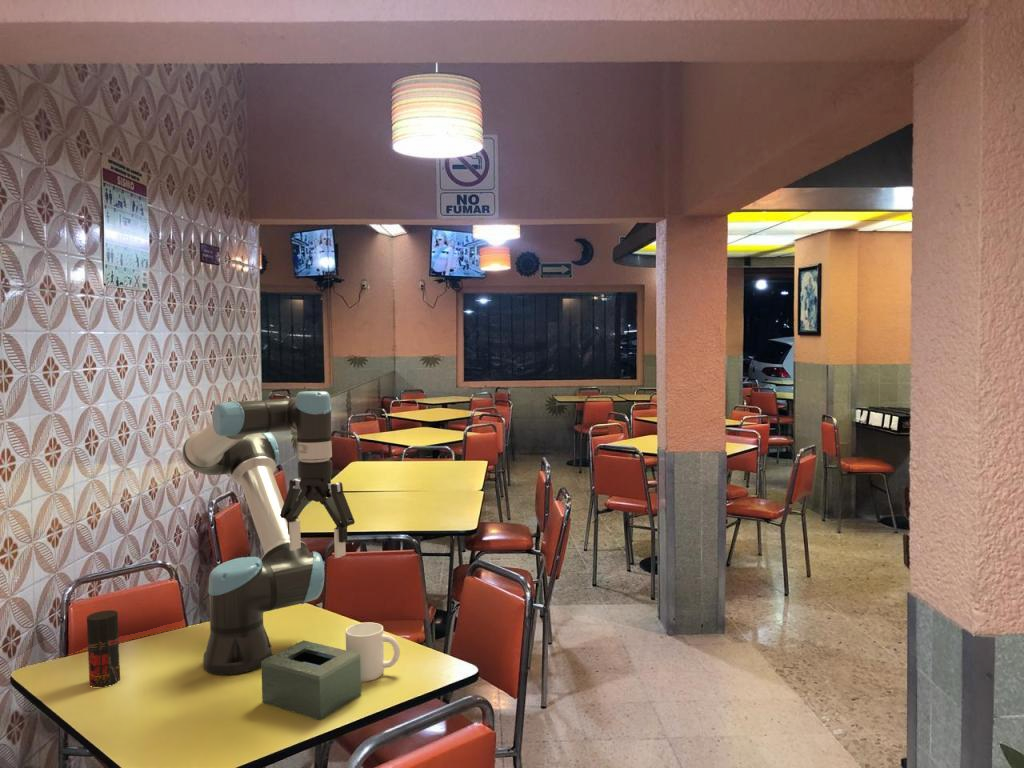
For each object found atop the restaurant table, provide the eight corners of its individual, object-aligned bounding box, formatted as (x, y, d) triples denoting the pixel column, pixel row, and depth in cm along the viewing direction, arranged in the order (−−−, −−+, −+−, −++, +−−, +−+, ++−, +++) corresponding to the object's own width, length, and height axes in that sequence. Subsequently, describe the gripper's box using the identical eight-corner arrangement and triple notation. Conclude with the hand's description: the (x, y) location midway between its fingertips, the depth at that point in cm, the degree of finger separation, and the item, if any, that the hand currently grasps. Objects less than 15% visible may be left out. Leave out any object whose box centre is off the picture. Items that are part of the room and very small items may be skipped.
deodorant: (85, 682, 162) (82, 615, 162) (114, 673, 167) (112, 608, 166) (94, 690, 158) (92, 622, 158) (124, 681, 163) (121, 614, 162)
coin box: (262, 702, 152) (261, 660, 151) (304, 679, 162) (303, 640, 162) (320, 720, 144) (319, 676, 144) (361, 694, 155) (360, 653, 154)
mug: (404, 666, 168) (403, 622, 168) (396, 683, 160) (395, 636, 159) (352, 666, 169) (351, 622, 168) (341, 682, 161) (340, 635, 160)
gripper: (262, 458, 168) (265, 550, 169) (346, 465, 156) (348, 563, 157) (287, 454, 175) (289, 542, 176) (368, 460, 163) (371, 555, 164)
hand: (317, 552), depth 167 cm, fingers open, 13 cm apart
